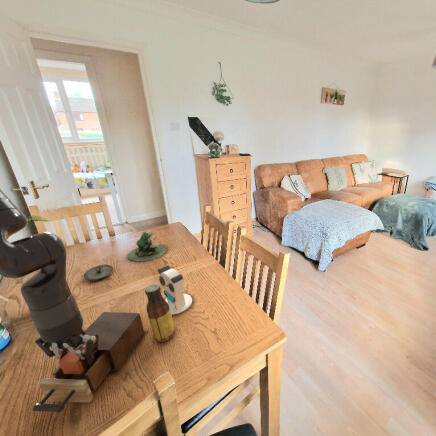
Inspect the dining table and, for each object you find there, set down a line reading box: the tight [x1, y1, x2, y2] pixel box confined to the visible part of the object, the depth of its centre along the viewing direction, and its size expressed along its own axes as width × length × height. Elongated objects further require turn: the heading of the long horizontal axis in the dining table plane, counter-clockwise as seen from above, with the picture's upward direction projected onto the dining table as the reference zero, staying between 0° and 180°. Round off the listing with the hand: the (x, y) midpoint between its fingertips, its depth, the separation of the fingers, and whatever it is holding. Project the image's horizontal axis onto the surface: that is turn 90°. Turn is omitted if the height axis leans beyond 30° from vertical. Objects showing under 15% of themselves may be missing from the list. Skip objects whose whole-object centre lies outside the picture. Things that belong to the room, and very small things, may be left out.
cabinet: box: [78, 311, 145, 372], centre depth 73 cm, size 14×12×9 cm
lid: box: [83, 264, 114, 282], centre depth 107 cm, size 11×10×5 cm
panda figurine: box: [157, 264, 193, 315], centre depth 91 cm, size 12×11×15 cm
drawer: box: [31, 352, 113, 413], centre depth 62 cm, size 17×10×7 cm, turn 0°
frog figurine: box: [127, 231, 168, 262], centre depth 126 cm, size 18×18×12 cm
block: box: [58, 347, 94, 374], centre depth 61 cm, size 4×4×4 cm
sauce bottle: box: [144, 283, 176, 343], centre depth 76 cm, size 6×6×20 cm
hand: (79, 365), depth 62 cm, fingers closed on block, 4 cm apart
